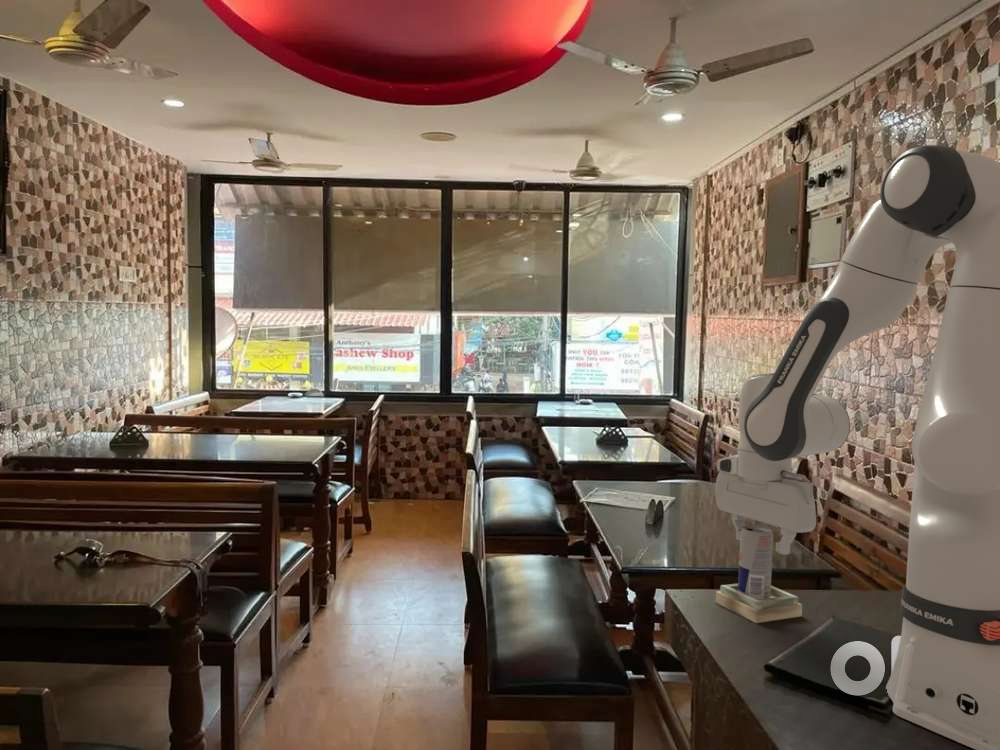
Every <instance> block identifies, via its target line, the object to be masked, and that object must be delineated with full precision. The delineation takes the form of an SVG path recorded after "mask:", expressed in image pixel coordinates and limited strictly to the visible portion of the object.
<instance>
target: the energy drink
mask: <svg viewBox="0 0 1000 750" xmlns="http://www.w3.org/2000/svg"><path fill="white" fill-rule="evenodd" d="M773 547H774V534H773V530H772V529H771V528H768V527H764V526H759V525H745V526H743V527H742V530H741V533H740V540H739V560H738V575H737V576H738V577H737V578H738V579H737V581H738V582H737V583H738V591H739V592H741V593H744V594H746V595H748V596H750V597H752V598H754V599H757V600H761V599H769V598H770V591H771V586H772V570H773V567H772V565H773Z"/></svg>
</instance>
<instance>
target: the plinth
mask: <svg viewBox="0 0 1000 750" xmlns="http://www.w3.org/2000/svg"><path fill="white" fill-rule="evenodd" d="M719 587H720V588H719V589H720V590H719V591H718V590H717V591H716V592H715V603H716V604H718V605H719V606H721V607H723V608H725V609H727V610H729V611H731V612H733V613H734V614H735V613H736V614H737V615H738V616H741V617H743V618H745V619H747V620H749V621H751V622H753V623H754V624H760V623H767V622H771V621H772V622H773V621H780V620H785V619H793V618H798V617H799V618H800V617H802V615H803V604H801V603H800V602H799V596H797V595H795V594H792V593H790V592H788V591H785V590H784V589H783V590H782V589H780V588H778V587H775V586H774V585H771V591H770V598H769V599H761V600H757V599H754V598H752V597H750V596H748V595H746V594H744V593H741V592H739V591H738V582H737V583H730V584H721V585H720V586H719Z"/></svg>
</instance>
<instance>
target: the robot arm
mask: <svg viewBox="0 0 1000 750" xmlns="http://www.w3.org/2000/svg"><path fill="white" fill-rule="evenodd" d="M879 198H880V199H878V200H877V201H875V202H874V203H873V204H872V205H871V206H870V208H869V209H868V210H867V212H866V213H865V215H864V216H863V218H862V219H861V221H860V223H858V226H857V228H856V230H855V231H854V233H853V235H852V237H851V238H850V240H849V242H848V245H846V248H845V251H844V253H843V255H842V257H841V260H840V262H839V264H838V266H837V268H836V271H835V273H834V275H833V277H832V279H831V281H830V283H829V284H828V286H827V288H826V289H825V291H824V292H823V293H822V295H821V296H820V298H819V299H818V300H817V302H816V303H815V304H814V305H813V306H812V308H811V309H810V310H809V311H808V313H807V314H806V315H805V317H804V318H803V320H802V322H801V324H800V325H799V327H798V329H797V330H796V333H794V336H793V338H792V340H791V341H790V343H789V345H788V347H787V349H786V350H785V353H784V354H783V357H782V358H781V360H780V363H779V364H778V365H777V368H776V370H775V371H774V372H771V373H761V374H756V375H751V376H750V377H748V378H746V379H745V380H744V382H743V384H742V386H741V390H740V394H739V402H738V414H737V415H738V416H737V417H738V420H737V423H738V429H739V441H738V444H737V452H736V453H737V454H734V455H731V456H728V457H723V458H720V459H718V460H716V470H717V471H718V472H719V473H718V474H717V477H716V481H715V503H716V506H717V508H718V509H719V510H720V511H723V512H727V513H729V514H731V521H732V524H733V527H734V529H735V538H736V540H739V541H740V533H741V530H742V527H743V526H746V524H745V520H747V519H750V520H753V521H756V522H760V523H764V524H766V525H770V526H774V527H777V528H780V535H782V537H781V539H780V541H777V542H775V552H776V553H777V554H780V555H783V556H785V555H789V554H790V553H791V544H792V543H793V541H794V540H795V538H796V536H797V533H798V534H799V533H801V534H802V533H810V532H813V531H814V529H815V528H816V526H817V513H816V502H815V496H814V487H813V484H812V483H811V481H810V480H809V479H808V478H807V476H806V475H804V474H800V473H794V472H792V465H793V464H792V462H793V461H792V460H793V459H792V458H795V457H796V458H797V457H806V456H813V455H821V454H826V453H827V454H828V453H831V452H833V451H836V450H839V449H840V448H841V447H842V446H843V445H844V444H845V443H846V441H847V440H848V437H849V436H850V431H851V422H850V415H849V414H848V411H847V409H846V408H845V406H844V405H843V404H842V403H841V402H840V401H838V400H837V399H835V398H833V397H829V396H827V395H824V394H821V393H818V392H815V391H816V389H817V387H818V386H819V383H820V382H821V380H822V378H823V376H824V375H825V372H826V371H827V369H828V367H829V366H830V364H831V361H832V360H833V359H834V358H835V357H836V355H837V354H838V353H839V352H840V351H842V350H843V349H844V348H845V347H847V346H848V345H850V344H851V343H853V342H854V341H857V340H859V339H861V338H863V337H865V336H868V335H870V334H873V333H875V332H878V331H880V330H883V329H885V328H888V327H889V326H891V325H892V324H894V323H895V322H897V320H898V319H899V318H900V316H901V315H902V314H903V312H904V311H905V310H906V309H907V307H908V305H909V304H910V302H911V300H912V298H913V296H914V294H915V292H916V291H917V290H916V289H917V287H918V285H919V283H920V281H921V278H922V277H923V274H924V273H925V272H924V271H925V270H926V267H927V264H928V263H929V261H930V259H931V257H932V256H933V255H934V254H935V253H936V252H937V250H939V249H940V248H942V247H944V246H947V245H950V244H953V246H954V248H955V254H956V257H955V258H956V259H955V264H954V268H953V273H952V276H951V280H950V284H949V288H948V291H947V295H946V301H945V305H944V309H943V313H942V317H941V321H940V326H939V331H938V334H937V339H936V343H935V347H934V351H933V354H932V359H931V364H930V368H929V370H928V371H929V372H928V374H927V379H926V383H925V387H924V391H923V395H922V399H921V401H920V406H919V411H918V414H917V420H916V424H915V427H914V431H913V436H912V440H911V452H912V458H913V461H914V464H913V465H914V466H913V467H914V468H913V478H912V479H913V481H912V492H911V504H910V516H909V517H910V518H909V523H908V524H909V525H908V542H907V543H908V545H907V546H908V547H907V563H906V578H905V579H906V580H905V582H906V583H905V584H904V585H903V586H902V588H901V598H900V615H901V620H902V625H901V633H900V639H899V645H898V650H897V654H896V658H895V661H894V665H893V669H892V671H891V674H890V676H889V679H888V681H887V684H886V686H885V690H886V689H887V692H886V694H887V693H888V694H887V695H888V697H889V698H890V699H891V701H892V703H893V705H892V712H893V714H895V715H896V716H897V717H900V718H902V719H904V720H907V721H908V722H912V723H913V724H916V725H918V726H921V727H922V728H925V729H927V730H929V731H932V732H934V733H936V734H938V735H941V736H943V737H946V738H948V739H950V740H952V741H955V742H957V743H959V744H961V745H965V746H966V747H969V748H971V749H974V750H1000V162H999V161H997V160H994V159H993V158H991V157H989V156H987V155H983V154H981V153H980V154H979V153H976V152H973V151H972V152H971V151H966V150H965V151H964V150H959V149H958V150H957V149H955V148H953V147H951V146H948V145H939V144H938V145H937V144H936V145H935V144H933V145H932V144H929V145H927V144H926V145H920V146H916V147H912V148H909V149H908V150H906V151H905V152H903V153H902V154H900V155H899V156H898V157H897V158H896V159H895V160H894V161H893V162H892V164H891V165H890V166H889V168H888V169H887V171H886V172H885V174H884V177H883V179H882V182H881V187H880V197H879Z"/></svg>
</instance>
